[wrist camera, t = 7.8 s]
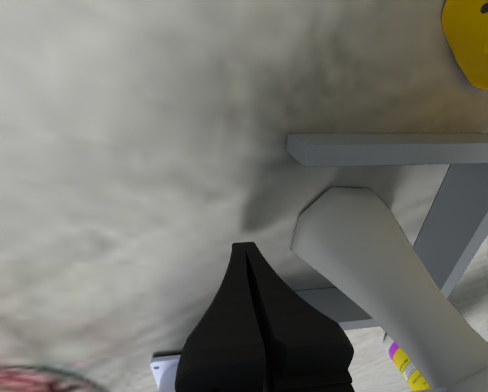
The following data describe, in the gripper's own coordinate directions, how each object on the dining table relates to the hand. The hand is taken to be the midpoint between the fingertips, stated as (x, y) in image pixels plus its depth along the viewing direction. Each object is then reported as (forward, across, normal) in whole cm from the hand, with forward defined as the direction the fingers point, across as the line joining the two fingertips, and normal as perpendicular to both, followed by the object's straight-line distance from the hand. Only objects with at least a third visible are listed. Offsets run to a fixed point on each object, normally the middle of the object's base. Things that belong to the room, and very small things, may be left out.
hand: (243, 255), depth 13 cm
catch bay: (+2, -9, 0) cm, 9 cm away
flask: (+2, -7, 0) cm, 8 cm away
